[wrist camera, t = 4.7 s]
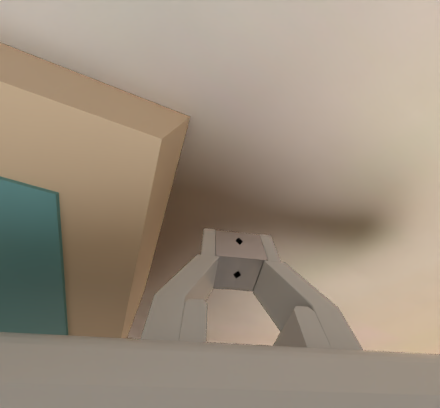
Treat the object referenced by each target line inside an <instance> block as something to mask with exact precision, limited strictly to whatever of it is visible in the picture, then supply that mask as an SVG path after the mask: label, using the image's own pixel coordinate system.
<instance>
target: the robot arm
mask: <svg viewBox="0 0 440 408" xmlns="http://www.w3.org/2000/svg"><path fill="white" fill-rule="evenodd" d="M213 288H214V289H234V290H243V291H253V293H254V295H255V296H256V298H257V299H258V301H259V302H260V303H261V305H262V306H263V308H264V309H265V310H266V312H267V313H268V315H269V316H270V318H271V319H272V320H273V322H274V323H275V325H276V326H277V327H278V329H279V330H280V334H279V336H278V338H277V339H276V341H275V343H274V344H273V346H268V345H248V344H228V343H209V342H206V329H207V303H206V302H205V301H206V299H207V298H208V296H209V295H210V293H211V292H212V290H213ZM0 408H440V354H424V353H404V352H384V351H365V350H363V349H362V347H361V345H360V344H359V342H358V340H357V338H356V337H355V335H354V333H353V331H352V330H351V328H350V326H349V325H348V323H347V321H346V319H345V318H344V316H343V314H342V312H341V311H340V309H339V308H338V307H337V306H336V305H335V304H333V303H332V302H331V301H330V300H329V299H328V298H326V297H325V296H324V295H323V294H322V293H320V292H319V291H318V290H317V289H316V288H315V287H313V286H312V285H311V284H310V283H309V282H307V281H306V280H305V279H304V278H303V277H302V276H300V275H299V274H298V273H297V272H296V271H294V270H293V269H292V268H291V267H290V266H289V265H287V264H286V263H285V262H281V260H280V257H279V255H278V252H277V250H276V247H275V245H274V242H273V240H272V237H271V236H270V235H267V234H251V233H241V232H234V231H226V230H218V229H209V228H204V229H203V236H202V244H201V252H200V255H199V254H197V255H196V256H195V257H194V258H193V259H192V260H191V261H190V262H189V263H188V264H186V265H185V266H184V267H183V268H182V269H181V270H180V271H179V272H178V273H177V274H176V275H175V276H174V277H173V278H172V279H171V280H169V281H168V282H167V283H166V284H165V285H164V286H163V287H162V288H161V289H160V290H159V291H158V292H157V293H156V294H155V295H154V298H153V301H152V304H151V307H150V310H149V314H148V317H147V320H146V323H145V326H144V329H143V332H142V336H141V339H130V338H111V337H91V336H71V335H52V334H32V333H13V332H0Z"/></svg>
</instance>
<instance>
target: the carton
mask: <svg viewBox="0 0 440 408" xmlns="http://www.w3.org/2000/svg"><path fill="white" fill-rule="evenodd" d="M189 119H190V116H187V115H184V114H182V113H179V112H177V111H174V110H172V109H169V108H166V107H164V106H161V105H159V104H156V103H154V102H151V101H149V100H146V99H143V98H141V97H138V96H136V95H133V94H131V93H128V92H125V91H123V90H120V89H118V88H115V87H113V86H110V85H108V84H105V83H102V82H100V81H97V80H95V79H92V78H90V77H87V76H84V75H82V74H79V73H77V72H74V71H72V70H69V69H67V68H64V67H61V66H59V65H56V64H54V63H51V62H49V61H46V60H43V59H41V58H38V57H36V56H33V55H31V54H28V53H26V52H23V51H20V50H18V49H15V48H13V47H10V46H8V45H5V44H2V43H0V332H13V333H32V334H52V335H71V336H91V337H111V338H127V336H128V334H129V331H130V328H131V326H132V323H133V320H134V317H135V315H136V312H137V309H138V307H139V304H140V301H141V299H142V296H143V293H144V290H145V287H146V283H147V280H148V276H149V272H150V268H151V264H152V260H153V257H154V253H155V249H156V245H157V241H158V238H159V234H160V230H161V226H162V222H163V219H164V215H165V211H166V207H167V203H168V200H169V196H170V192H171V188H172V184H173V180H174V177H175V173H176V169H177V165H178V161H179V158H180V154H181V150H182V146H183V142H184V139H185V135H186V131H187V127H188V123H189Z"/></svg>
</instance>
